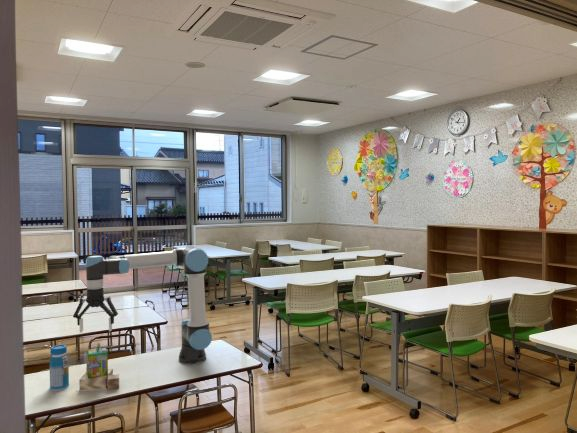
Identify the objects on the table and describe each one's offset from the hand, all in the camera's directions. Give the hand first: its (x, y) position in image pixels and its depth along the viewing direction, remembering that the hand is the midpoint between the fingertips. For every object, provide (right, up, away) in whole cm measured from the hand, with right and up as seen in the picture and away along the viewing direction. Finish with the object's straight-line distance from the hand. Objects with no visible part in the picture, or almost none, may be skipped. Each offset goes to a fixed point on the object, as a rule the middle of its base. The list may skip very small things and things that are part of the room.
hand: (96, 331), depth 214 cm
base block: (0, -26, +1) cm, 26 cm away
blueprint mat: (+3, -26, +3) cm, 27 cm away
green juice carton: (0, -21, +1) cm, 21 cm away
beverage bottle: (-17, -27, -2) cm, 32 cm away
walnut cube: (+10, -26, -3) cm, 28 cm away
